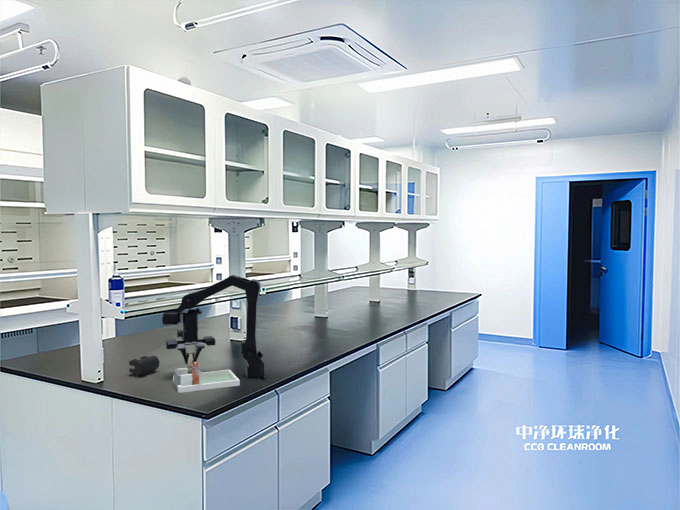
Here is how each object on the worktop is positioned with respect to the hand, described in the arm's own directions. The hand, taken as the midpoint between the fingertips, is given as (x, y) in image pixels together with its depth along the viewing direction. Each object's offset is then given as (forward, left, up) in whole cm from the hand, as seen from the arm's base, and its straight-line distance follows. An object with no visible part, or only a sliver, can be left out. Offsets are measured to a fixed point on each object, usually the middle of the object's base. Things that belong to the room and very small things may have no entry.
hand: (190, 363), depth 194 cm
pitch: (-4, +11, -6) cm, 14 cm away
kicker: (0, +9, -5) cm, 10 cm away
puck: (+3, +11, -5) cm, 13 cm away
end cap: (+16, -15, -6) cm, 23 cm away
